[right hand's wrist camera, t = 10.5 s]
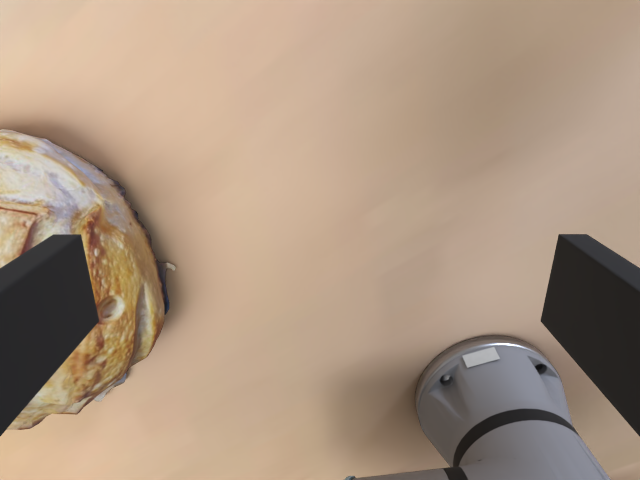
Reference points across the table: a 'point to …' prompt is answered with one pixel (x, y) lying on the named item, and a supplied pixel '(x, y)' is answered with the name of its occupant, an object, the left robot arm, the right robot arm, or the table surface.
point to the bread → (102, 259)
